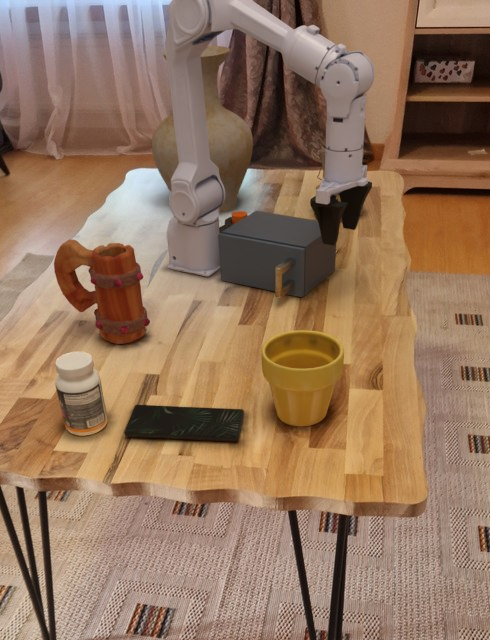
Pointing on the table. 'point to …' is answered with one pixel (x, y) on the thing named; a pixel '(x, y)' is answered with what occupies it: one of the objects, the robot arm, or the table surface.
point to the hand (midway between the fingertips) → (339, 236)
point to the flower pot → (302, 374)
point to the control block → (226, 224)
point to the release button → (238, 216)
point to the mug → (105, 288)
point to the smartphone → (185, 423)
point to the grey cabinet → (291, 241)
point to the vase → (210, 134)
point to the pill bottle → (80, 394)
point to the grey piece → (262, 264)
